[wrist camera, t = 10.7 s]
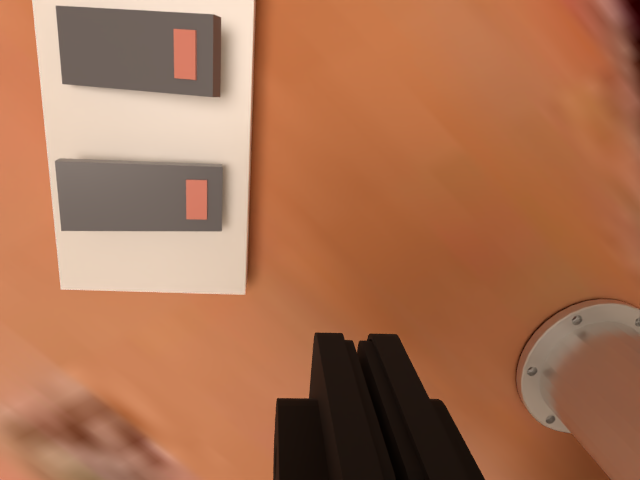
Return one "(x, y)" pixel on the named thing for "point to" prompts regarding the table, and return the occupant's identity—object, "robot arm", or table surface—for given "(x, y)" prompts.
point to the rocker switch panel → (155, 157)
